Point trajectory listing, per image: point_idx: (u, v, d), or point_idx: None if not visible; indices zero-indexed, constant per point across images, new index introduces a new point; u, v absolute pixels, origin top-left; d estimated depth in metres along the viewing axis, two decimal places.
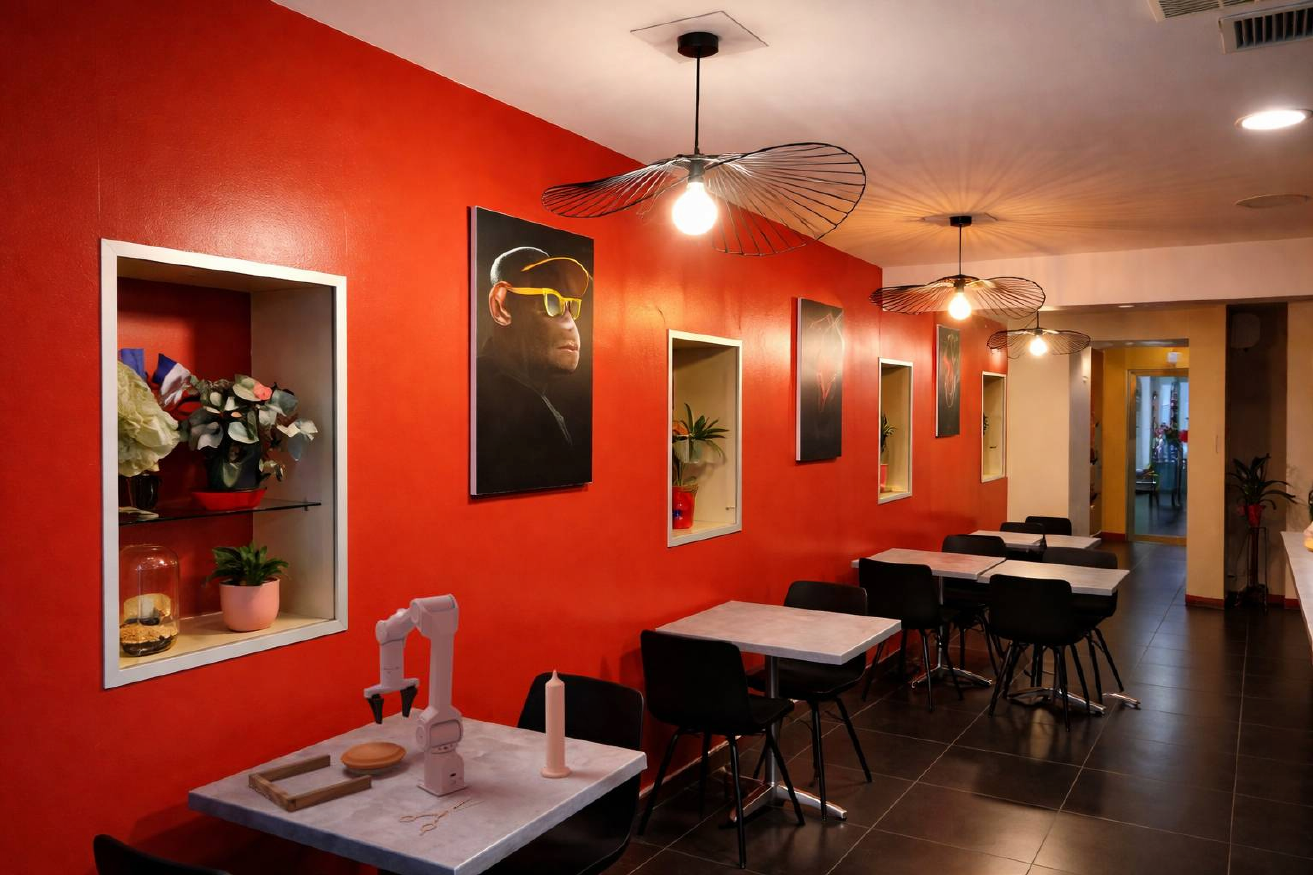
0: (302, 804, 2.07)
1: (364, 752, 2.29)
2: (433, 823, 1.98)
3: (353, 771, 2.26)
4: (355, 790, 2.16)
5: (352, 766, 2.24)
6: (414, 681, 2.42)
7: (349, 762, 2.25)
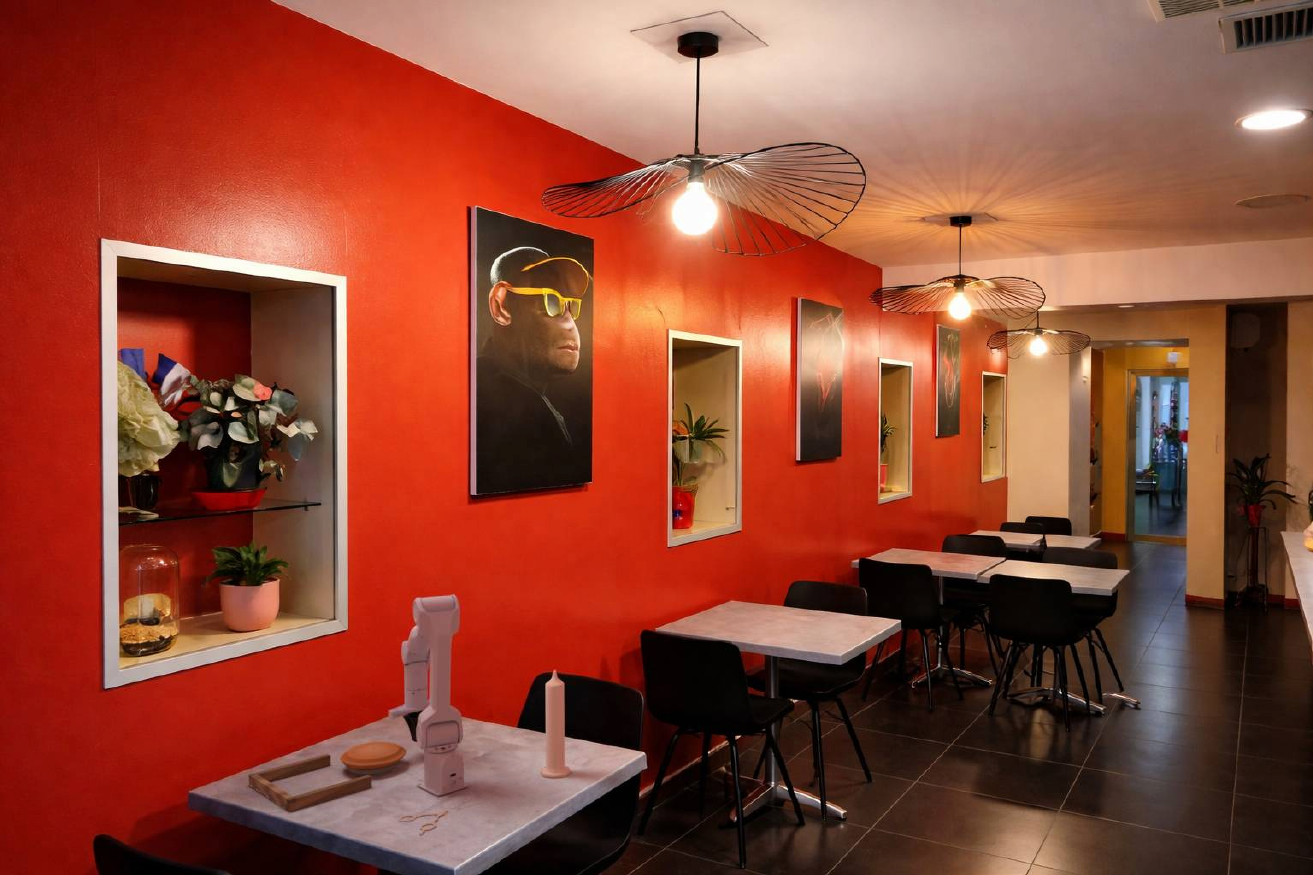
0: (302, 804, 2.07)
1: (364, 752, 2.29)
2: (433, 823, 1.98)
3: (353, 771, 2.26)
4: (355, 790, 2.16)
5: (352, 766, 2.24)
6: None
7: (349, 762, 2.25)
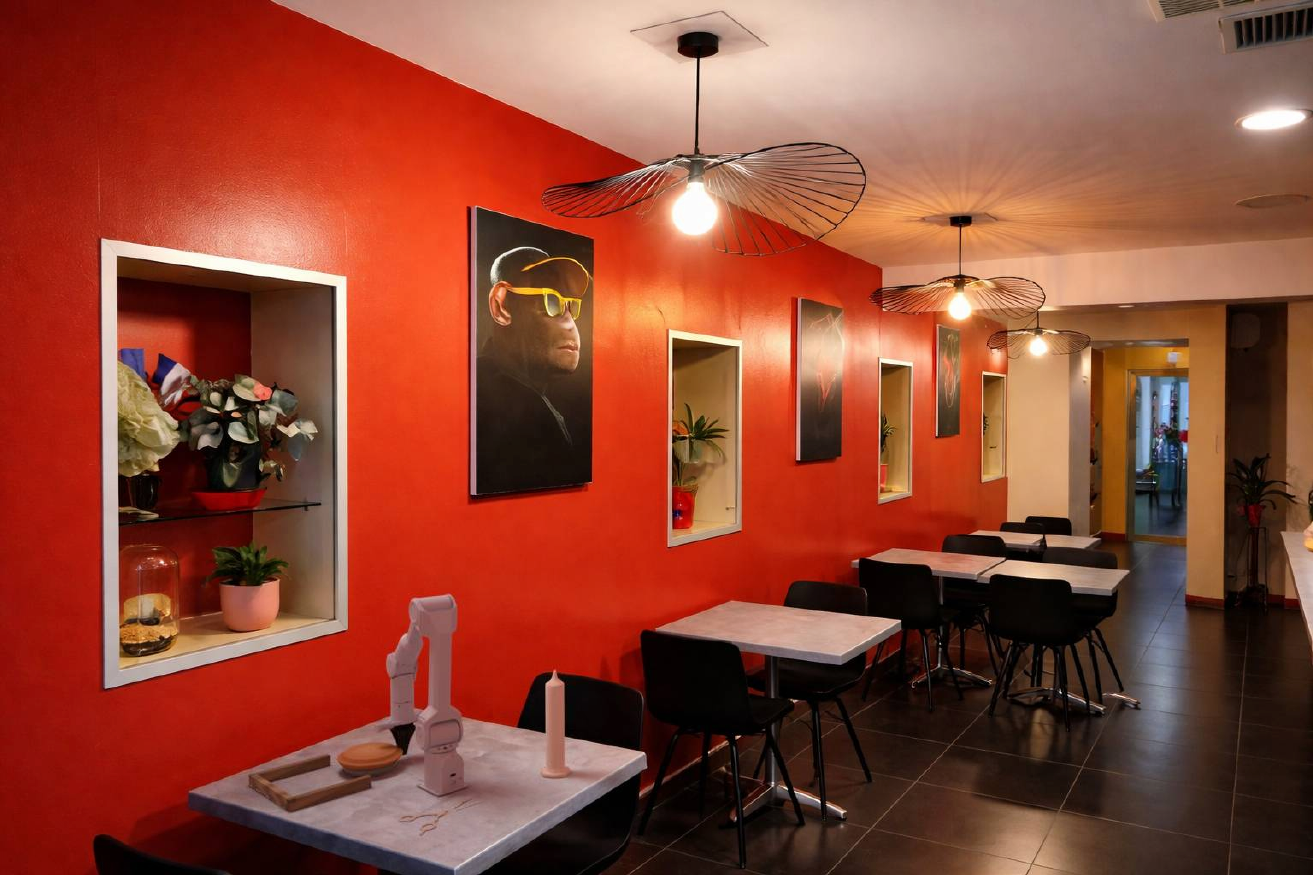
0: (302, 804, 2.07)
1: (360, 752, 2.28)
2: (433, 823, 1.98)
3: (350, 772, 2.25)
4: (355, 790, 2.16)
5: (349, 767, 2.23)
6: None
7: (346, 763, 2.24)
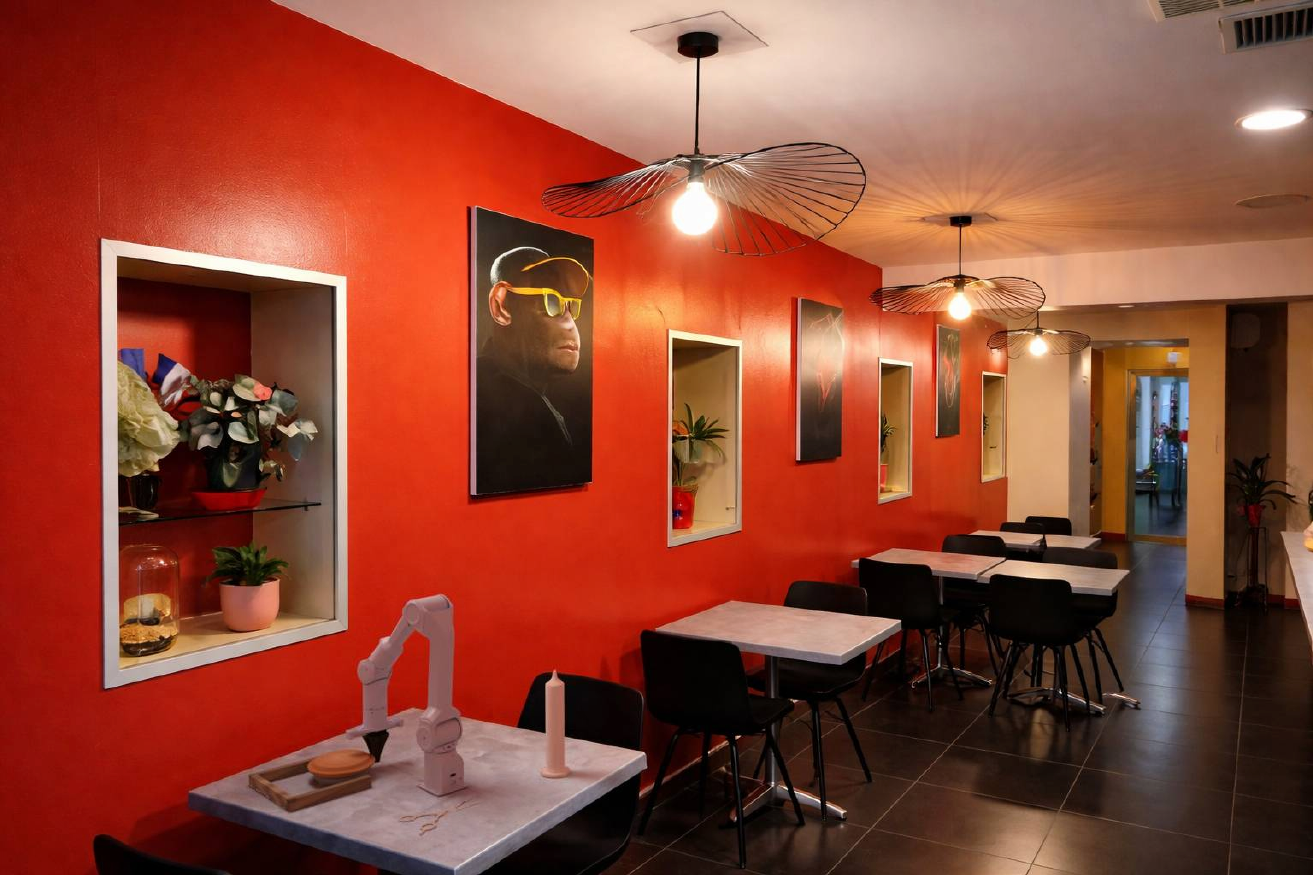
0: (302, 804, 2.07)
1: (331, 760, 2.23)
2: (433, 823, 1.98)
3: (320, 780, 2.20)
4: (355, 790, 2.16)
5: (319, 775, 2.18)
6: (398, 721, 2.35)
7: (316, 771, 2.19)
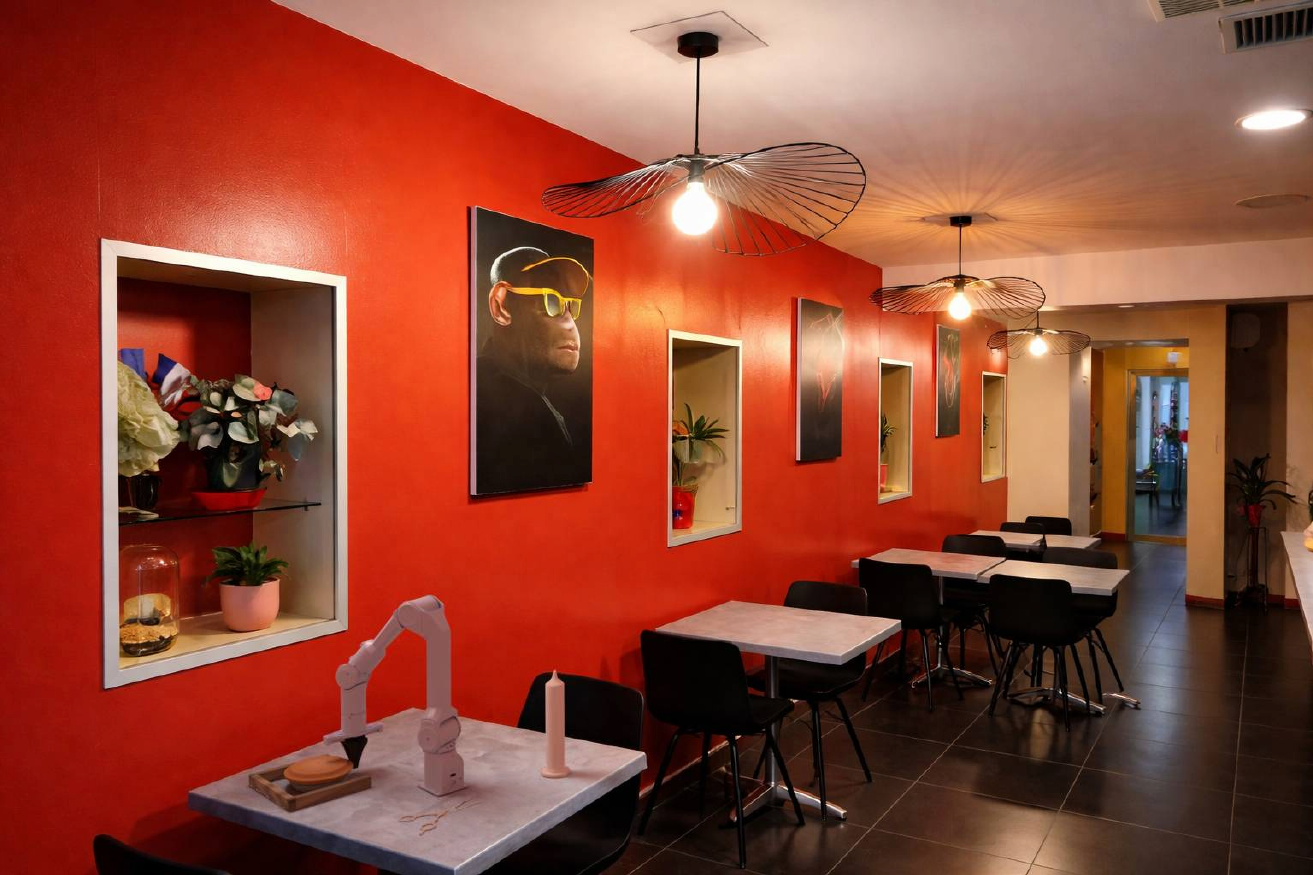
0: (302, 804, 2.07)
1: (308, 766, 2.19)
2: (433, 823, 1.98)
3: (296, 787, 2.15)
4: (355, 790, 2.16)
5: (295, 782, 2.14)
6: (378, 726, 2.31)
7: (292, 777, 2.15)
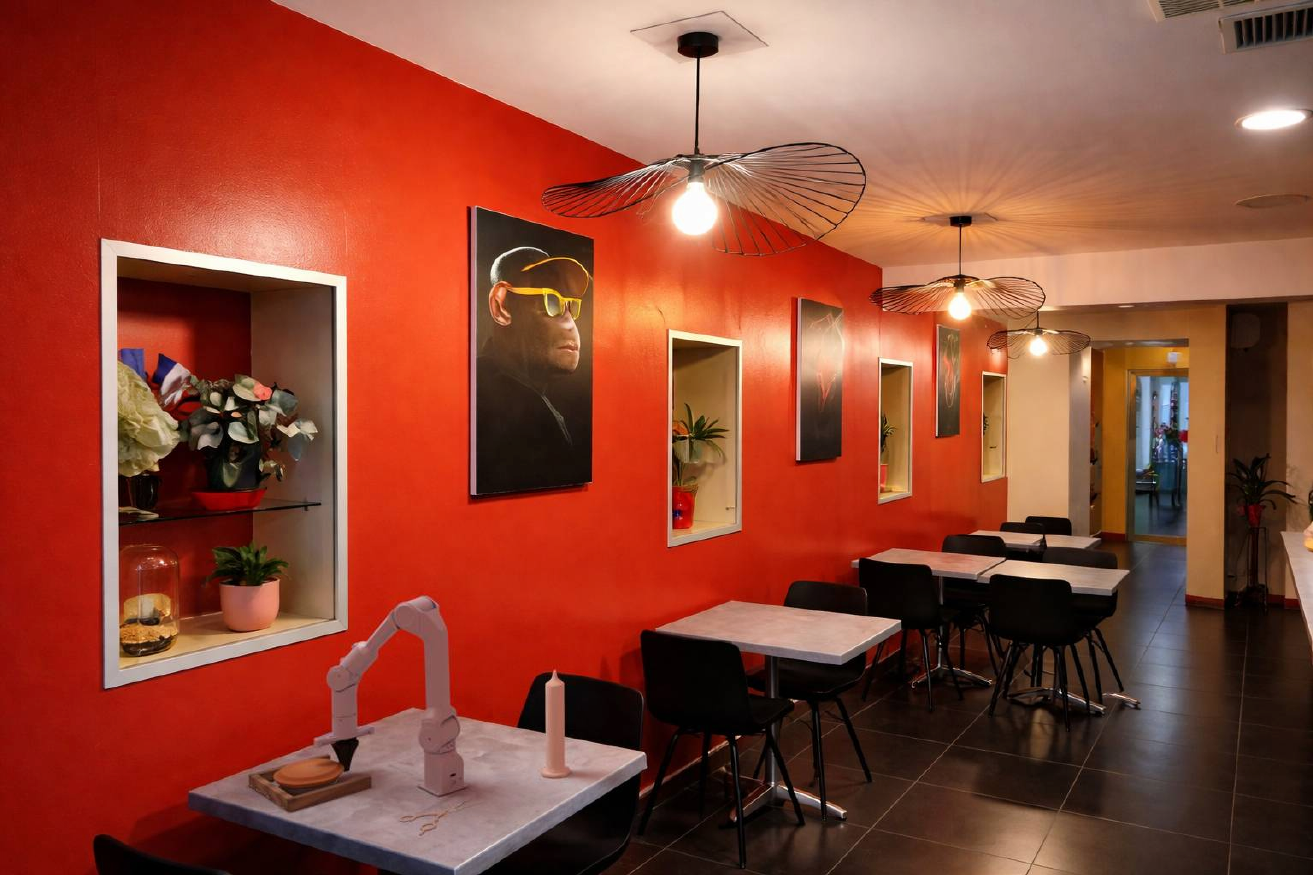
0: (302, 804, 2.07)
1: (298, 770, 2.17)
2: (433, 823, 1.98)
3: (286, 790, 2.14)
4: (355, 790, 2.16)
5: (285, 785, 2.12)
6: (369, 728, 2.29)
7: (282, 781, 2.13)
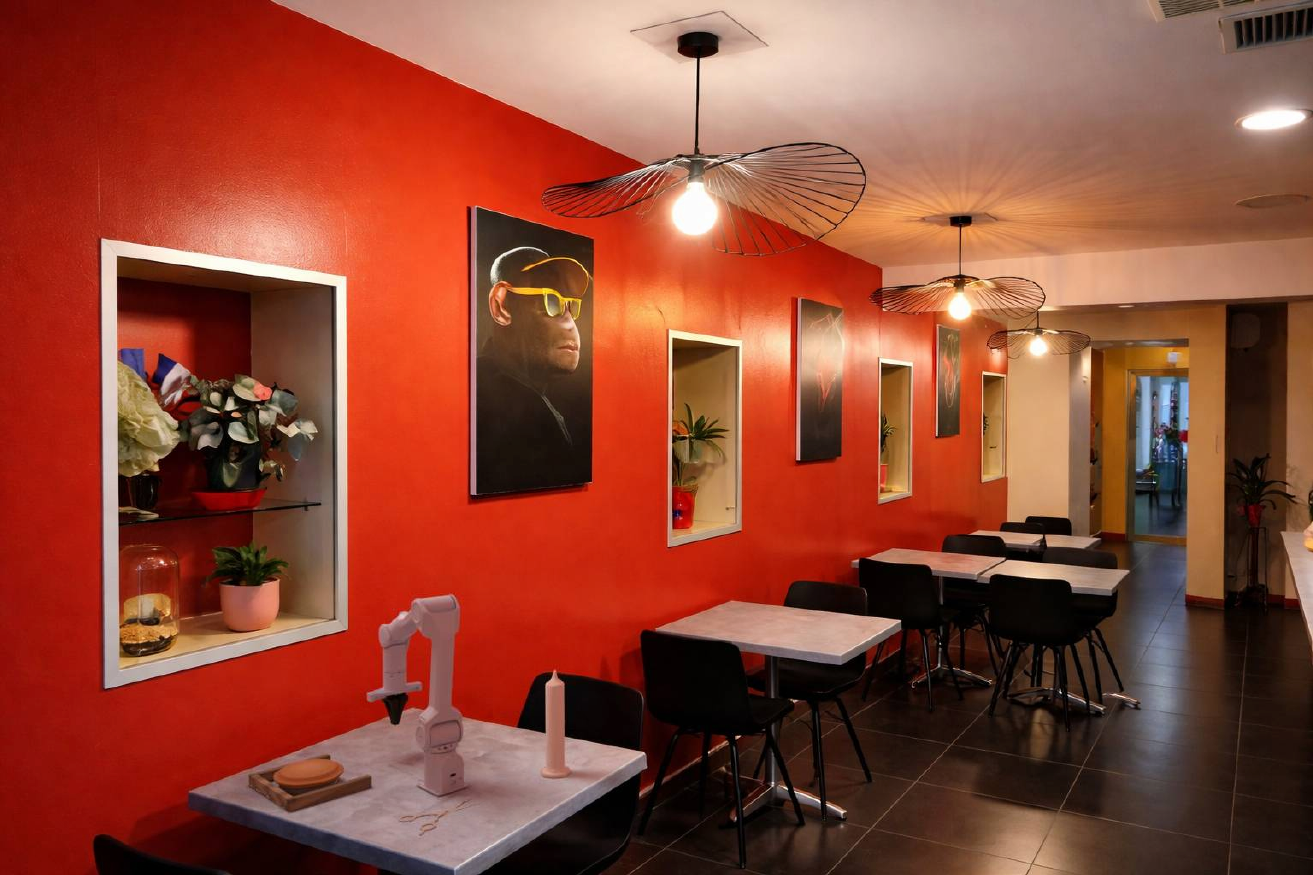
0: (302, 804, 2.07)
1: (298, 770, 2.17)
2: (433, 823, 1.98)
3: (286, 791, 2.14)
4: (355, 790, 2.16)
5: (285, 785, 2.12)
6: (417, 685, 2.42)
7: (282, 781, 2.13)
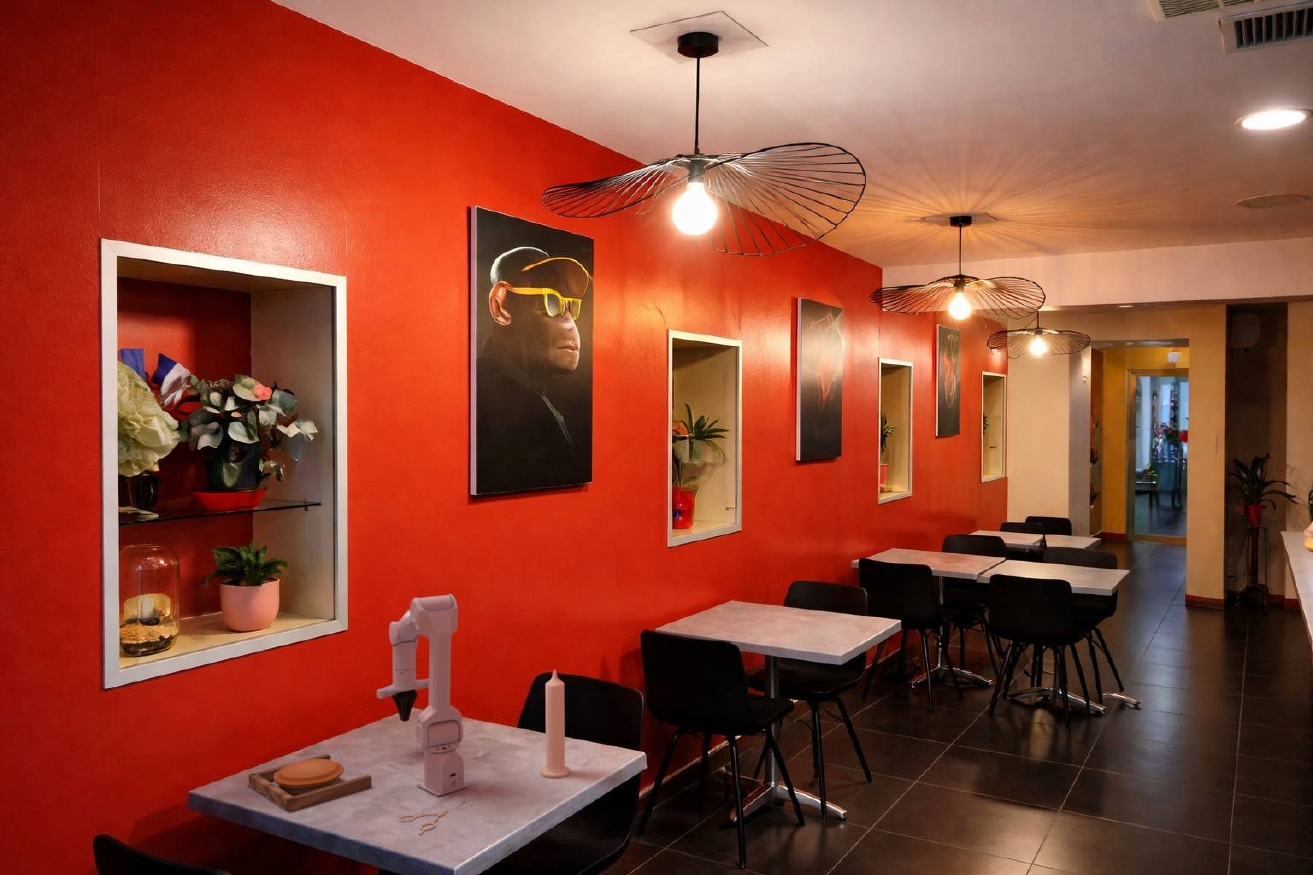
0: (302, 804, 2.07)
1: (298, 770, 2.17)
2: (433, 823, 1.98)
3: (286, 790, 2.14)
4: (355, 790, 2.16)
5: (285, 785, 2.12)
6: (426, 682, 2.45)
7: (282, 781, 2.13)
